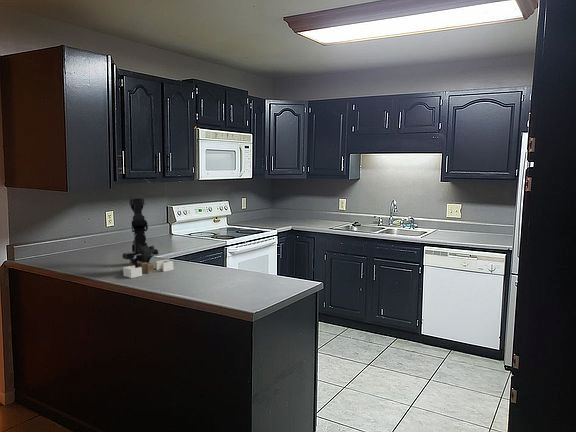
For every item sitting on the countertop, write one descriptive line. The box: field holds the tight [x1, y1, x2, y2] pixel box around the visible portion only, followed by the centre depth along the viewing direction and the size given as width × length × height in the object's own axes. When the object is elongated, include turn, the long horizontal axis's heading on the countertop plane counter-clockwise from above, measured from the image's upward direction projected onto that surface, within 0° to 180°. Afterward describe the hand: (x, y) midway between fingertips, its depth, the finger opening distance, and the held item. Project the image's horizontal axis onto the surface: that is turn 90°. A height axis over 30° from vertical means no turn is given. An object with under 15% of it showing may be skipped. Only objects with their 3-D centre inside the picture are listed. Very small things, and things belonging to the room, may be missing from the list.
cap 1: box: [122, 265, 143, 279], centre depth 244 cm, size 8×6×4 cm
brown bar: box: [129, 260, 154, 274], centre depth 255 cm, size 16×4×5 cm, turn 54°
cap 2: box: [155, 259, 174, 272], centre depth 258 cm, size 8×6×4 cm
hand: (141, 269), depth 256 cm, fingers open, 6 cm apart
